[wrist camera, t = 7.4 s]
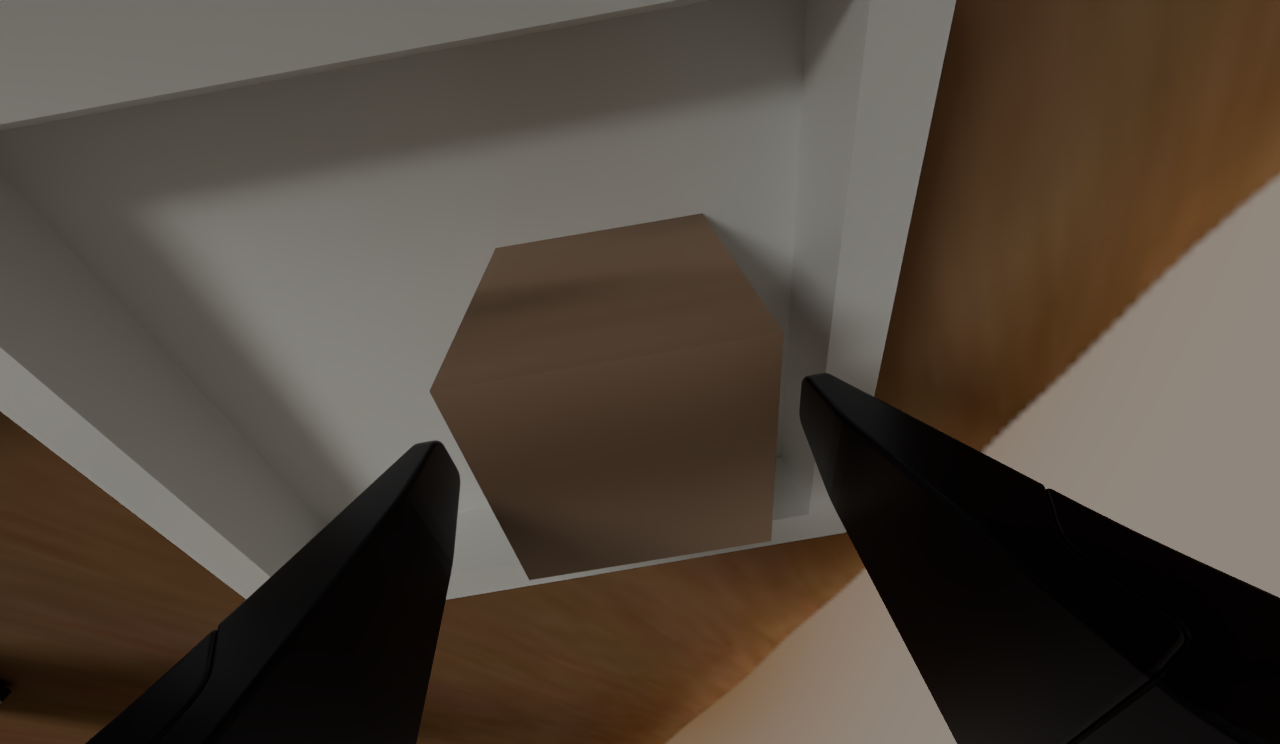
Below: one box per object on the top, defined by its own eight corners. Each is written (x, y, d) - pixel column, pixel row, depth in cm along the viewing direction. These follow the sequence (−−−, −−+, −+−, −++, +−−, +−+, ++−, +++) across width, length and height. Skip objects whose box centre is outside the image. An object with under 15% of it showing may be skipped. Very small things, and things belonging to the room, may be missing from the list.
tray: (806, 458, 16) (845, 532, 13) (329, 538, 16) (282, 627, 14) (865, -119, 8) (996, -197, 5) (-119, 65, 8) (-442, 73, 5)
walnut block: (711, 378, 12) (771, 541, 8) (548, 405, 12) (529, 580, 8) (702, 213, 10) (783, 332, 6) (495, 248, 10) (429, 391, 6)
